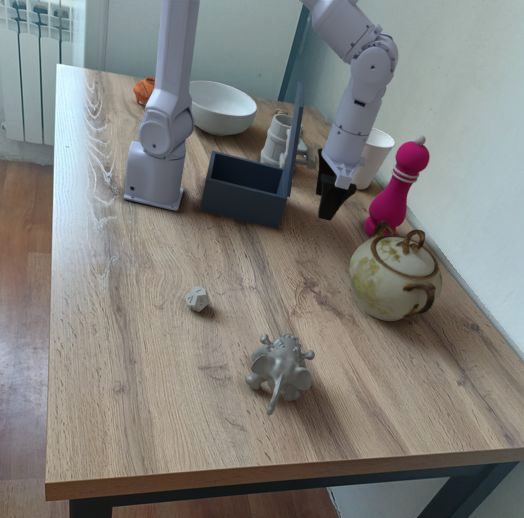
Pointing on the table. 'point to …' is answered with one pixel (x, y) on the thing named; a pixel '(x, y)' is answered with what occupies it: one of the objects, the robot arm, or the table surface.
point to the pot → (144, 89)
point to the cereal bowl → (221, 108)
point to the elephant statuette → (280, 368)
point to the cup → (372, 157)
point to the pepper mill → (398, 186)
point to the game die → (197, 299)
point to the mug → (278, 141)
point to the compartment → (244, 190)
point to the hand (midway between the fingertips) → (322, 206)
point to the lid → (294, 142)
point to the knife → (301, 144)
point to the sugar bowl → (394, 275)
